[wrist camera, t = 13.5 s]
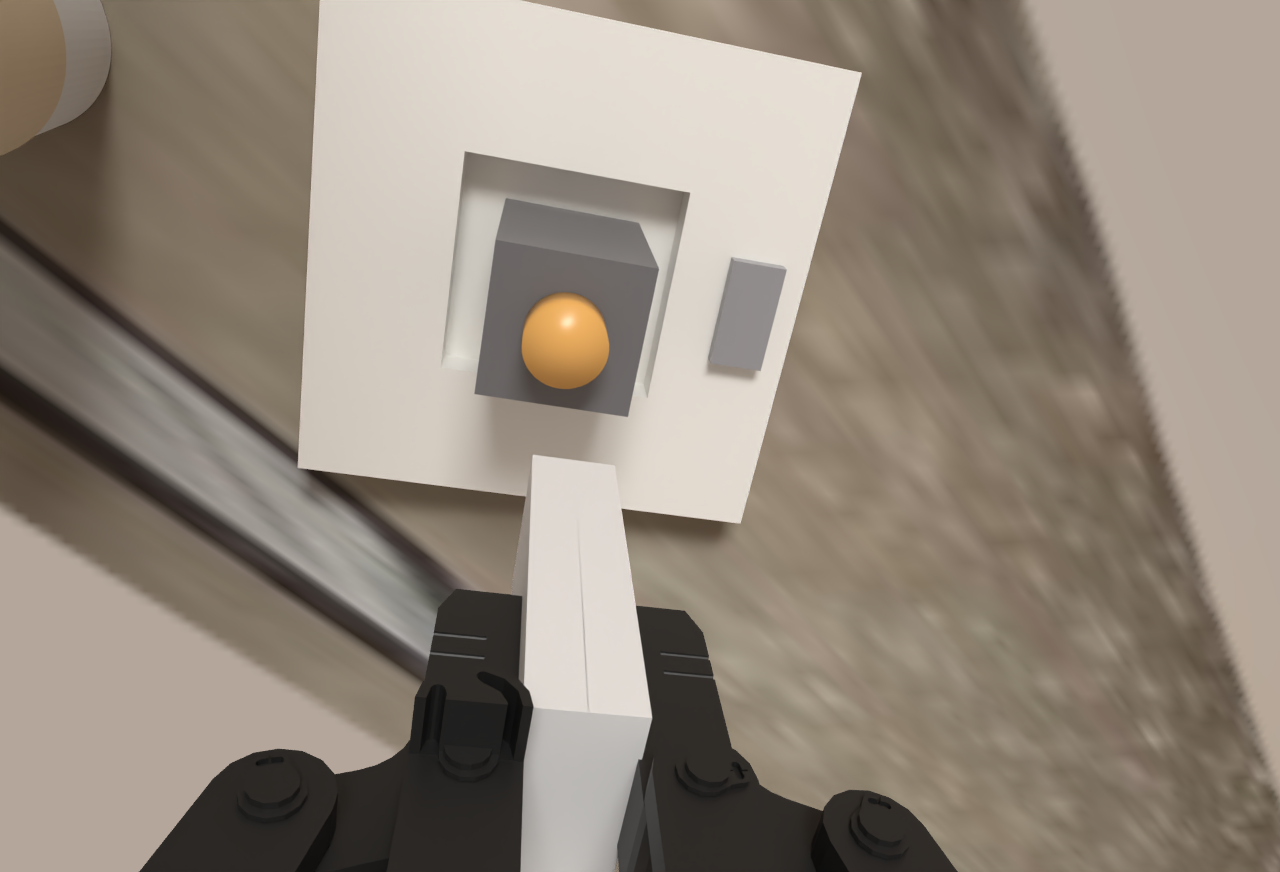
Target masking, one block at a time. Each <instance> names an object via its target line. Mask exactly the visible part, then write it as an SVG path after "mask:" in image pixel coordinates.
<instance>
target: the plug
mask: <svg viewBox="0 0 1280 872" xmlns="http://www.w3.org/2000/svg"><path fill="white" fill-rule="evenodd" d="M658 272H659V267H658V265H657V263H656V261H655V258H654V256H653V254H652V251H651V249H650V247H649V245H648V242H647V240H646V238H645V236H644V233H643V231H642V229H641V226H640V224H639V223H637V222H632V221H627V220H621V219H616V218H610V217H605V216H600V215H594V214H589V213H583V212H578V211H573V210H567V209H562V208H557V207H551V206H546V205H540V204H535V203H530V202H524V201H519V200H513V199H508V198H506V199H505V203H504V207H503V211H502V215H501V219H500V223H499V227H498V232H497V236H496V240H495V247H494V254H493V261H492V269H491V276H490V283H489V291H488V298H487V305H486V312H485V320H484V327H483V334H482V342H481V349H480V356H479V363H478V371H477V378H476V385H475V393H474V394H477V395H484V396H491V397H497V398H504V399H511V400H517V401H524V402H531V403H537V404H544V405H551V406H557V407H564V408H571V409H577V410H584V411H591V412H597V413H604V414H611V415H617V416H624V417H628V414H629V409H630V404H631V400H632V395H633V390H634V386H635V381H636V376H637V371H638V367H639V362H640V357H641V352H642V348H643V343H644V338H645V333H646V329H647V324H648V319H649V315H650V310H651V305H652V300H653V296H654V291H655V286H656V281H657V277H658Z"/></svg>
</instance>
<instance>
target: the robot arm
mask: <svg viewBox="0 0 1280 872" xmlns="http://www.w3.org/2000/svg"><path fill="white" fill-rule="evenodd" d="M708 657H709V655H708V651H707V647H706V643H705V639H704V635H703V632H702V631H701V630H700V629H699V627H698V626H697V625H696V624H695V623H694V621H693V620H692V619H691V618H690V616H689V615H688V614H687V613H686V612H685V611H681V610H671V609H662V608H652V607H643V606H636V604H635V598H634V591H633V584H632V577H631V571H630V564H629V557H628V550H627V543H626V537H625V530H624V523H623V516H622V510H621V503H620V496H619V489H618V482H617V476H616V469H615V465H608V464H600V463H593V462H585V461H577V460H570V459H562V458H554V457H547V456H539V455H532V461H531V468H530V474H529V480H528V487H527V493H526V499H525V506H524V512H523V518H522V525H521V531H520V537H519V544H518V550H517V556H516V563H515V569H514V575H513V581H512V595H508V594H499V593H489V592H480V591H471V590H461V589H456V590H455V591H454V592H453V593H452V594H451V595H450V596H449V597H448V598H447V599H446V600H445V601H444V603H443V604H442V605H441V606H440V607H439V608H438V613H437V618H436V624H435V629H434V635H433V640H432V645H431V651H430V656H429V661H428V667H427V672H426V677H425V681H423V682H422V684H421V686H420V688H419V690H418V692H417V694H416V696H415V703H414V711H413V720H412V729H411V738H410V741H409V742H408V743H407V744H406V746H405V747H404V748H403V749H402V750H401V751H399V752H398V753H397V754H396V755H394V756H393V757H392V758H390V759H388V760H386V761H384V762H382V763H380V764H378V765H375V766H372V767H368V768H365V769H361V770H357V771H352V772H345V773H340V774H334V773H333V772H332V771H331V770H330V769H329V767H328V766H327V765H326V764H325V763H324V762H323V761H322V760H321V759H319V758H316V757H314V756H312V755H310V754H307V753H305V752H303V751H296V750H286V749H274V750H268V751H262V752H256V753H252V754H250V755H248V756H246V757H244V758H242V759H239V760H237V761H235V762H233V763H231V764H229V766H227V767H226V768H225V769H224V770H223V771H221V772H220V773H219V774H218V775H217V776H216V777H215V778H214V779H213V780H212V781H211V782H210V783H209V785H208V786H207V787H206V789H205V790H204V791H203V792H202V794H201V795H200V796H199V797H198V799H197V800H196V801H195V802H194V804H193V805H192V806H191V807H190V809H189V810H188V811H187V812H186V814H185V815H184V816H183V818H182V819H181V820H180V821H179V823H178V824H177V825H176V826H175V828H174V829H173V830H172V831H171V832H170V834H169V835H168V836H167V838H166V839H165V840H164V841H163V843H162V844H161V845H160V847H159V848H158V849H157V850H156V851H155V853H154V854H153V855H152V856H151V858H150V859H149V860H148V862H147V863H146V864H145V865H144V866H143V868H142V869H141V870H140V872H614V870H615V866H616V862H617V858H618V862H619V872H957V870H956V869H955V868H954V866H953V865H952V863H951V862H950V861H949V859H948V858H947V857H946V855H945V854H944V853H943V851H942V850H941V848H940V847H939V846H938V844H937V843H936V842H935V840H934V839H933V837H932V836H931V835H930V833H929V832H928V831H927V829H926V828H925V826H924V825H923V824H922V823H921V822H920V821H919V820H918V819H917V818H916V817H915V816H914V815H913V814H912V813H911V812H910V811H909V810H908V809H906V808H905V807H903V806H902V805H900V804H899V803H897V802H895V801H894V800H892V799H891V798H889V797H886V796H883V795H880V794H877V793H874V792H871V791H863V790H848V791H845V792H842V793H839V794H836V795H834V796H833V797H832V798H831V799H830V801H829V802H828V803H827V804H826V805H825V807H824V810H823V811H821V810H818V809H815V808H812V807H809V806H806V805H803V804H800V803H797V802H794V801H791V800H788V799H786V798H783V797H781V796H779V795H777V794H774V793H772V792H770V791H769V790H767V789H766V788H764V787H762V786H761V785H759V781H758V779H757V777H756V775H755V773H754V771H753V769H752V767H751V765H750V763H749V762H747V761H746V760H745V759H744V758H743V757H742V756H741V755H740V754H739V753H738V752H737V751H736V750H734V749H732V747H731V743H730V739H729V735H728V731H727V727H726V723H725V719H724V715H723V711H722V707H721V703H720V699H719V695H718V691H717V687H716V683H715V680H713V671H712V667H711V663H710V660H708Z"/></svg>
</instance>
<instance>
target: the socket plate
mask: <svg viewBox="0 0 1280 872" xmlns="http://www.w3.org/2000/svg"><path fill="white" fill-rule="evenodd" d="M861 74H862V73H860V72H855V71H850V70H846V69H841V68H836V67H832V66H827V65H822V64H818V63H813V62H808V61H803V60H799V59H794V58H789V57H785V56H780V55H775V54H771V53H766V52H761V51H756V50H752V49H747V48H742V47H738V46H733V45H728V44H723V43H719V42H714V41H709V40H705V39H700V38H695V37H691V36H686V35H681V34H676V33H672V32H667V31H662V30H658V29H653V28H648V27H643V26H639V25H634V24H629V23H625V22H620V21H615V20H611V19H606V18H601V17H596V16H592V15H587V14H582V13H578V12H573V11H568V10H563V9H559V8H554V7H549V6H545V5H540V4H535V3H531V2H526V1H521V0H320V8H319V29H318V50H317V72H316V93H315V114H314V135H313V156H312V177H311V199H310V220H309V241H308V262H307V283H306V304H305V326H304V347H303V368H302V389H301V410H300V431H299V452H298V468H303V469H311V470H319V471H327V472H335V473H343V474H351V475H359V476H367V477H375V478H383V479H391V480H399V481H407V482H414V483H422V484H430V485H438V486H446V487H454V488H462V489H470V490H478V491H486V492H494V493H502V494H510V495H518V496H526V493H527V487H528V480H529V474H530V468H531V461H532V455H539V456H547V457H554V458H562V459H570V460H577V461H585V462H593V463H600V464H608V465H615V469H616V476H617V482H618V489H619V496H620V503H621V509H629V510H637V511H645V512H653V513H661V514H668V515H676V516H684V517H692V518H700V519H708V520H716V521H724V522H732V523H741V519H742V516H743V512H744V508H745V504H746V501H747V497H748V493H749V490H750V486H751V482H752V478H753V475H754V471H755V467H756V464H757V460H758V456H759V452H760V449H761V445H762V441H763V438H764V434H765V430H766V426H767V423H768V419H769V415H770V412H771V408H772V404H773V400H774V397H775V393H776V389H777V386H778V382H779V378H780V374H781V371H782V367H783V363H784V360H785V356H786V352H787V348H788V345H789V341H790V337H791V334H792V330H793V326H794V322H795V319H796V315H797V311H798V308H799V304H800V300H801V296H802V293H803V289H804V285H805V282H806V278H807V274H808V270H809V267H810V263H811V259H812V256H813V252H814V248H815V244H816V241H817V237H818V233H819V230H820V226H821V222H822V218H823V215H824V211H825V207H826V204H827V200H828V196H829V193H830V189H831V185H832V181H833V178H834V174H835V170H836V167H837V163H838V159H839V155H840V152H841V148H842V144H843V141H844V137H845V133H846V129H847V126H848V122H849V118H850V115H851V111H852V107H853V103H854V100H855V96H856V92H857V89H858V85H859V81H860V77H861ZM506 198H508V199H513V200H519V201H524V202H530V203H535V204H540V205H546V206H551V207H557V208H562V209H567V210H573V211H578V212H583V213H589V214H594V215H600V216H605V217H610V218H616V219H621V220H627V221H632V222H637V223H639V224H640V226H641V229H642V231H643V233H644V236H645V238H646V240H647V242H648V245H649V247H650V249H651V251H652V254H653V256H654V258H655V261H656V263H657V265H658V267H659V272H658V277H657V281H656V286H655V291H654V296H653V300H652V305H651V310H650V315H649V319H648V324H647V329H646V333H645V338H644V343H643V348H642V352H641V357H640V362H639V367H638V371H637V376H636V381H635V386H634V390H633V395H632V400H631V404H630V409H629V414H628V417H624V416H617V415H611V414H604V413H597V412H591V411H584V410H577V409H571V408H564V407H557V406H551V405H544V404H537V403H531V402H524V401H517V400H511V399H504V398H497V397H491V396H484V395H477V394H474V393H475V385H476V378H477V371H478V363H479V356H480V349H481V342H482V334H483V327H484V320H485V312H486V305H487V298H488V291H489V283H490V276H491V269H492V261H493V254H494V247H495V240H496V236H497V232H498V227H499V223H500V219H501V215H502V211H503V207H504V203H505V199H506Z"/></svg>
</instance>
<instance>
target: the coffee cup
mask: <svg viewBox="0 0 1280 872" xmlns="http://www.w3.org/2000/svg"><path fill="white" fill-rule="evenodd" d="M110 62H111V37H110V31H109V26H108V21H107V18H106V15H105V12H104V9H103V6H102V4H101V1H100V0H0V156H1V155H4V154H6V153H8V152H10V151H12V150H15V149H17V148H18V147H20V146H22V145H23V144H25V143H26V142H28V141H29V140H30V139H31V138H33V137H34V136H36V135H39V134H41V133H44V132H46V131H49V130H51V129H54V128H56V127H58V126H61V125H63V124H66V123H68V122H70V121H72V120H74V119H75V118H77V117H78V116H80V115H81V114H82V113H84V112H85V111H86V110H87V109H88V108H89V107H90V106H91V105H92V104H93V103H94V101H95V100H96V99H97V97H98V96H99V94H100V92H101V91H102V89H103V87H104V85H105V82H106V79H107V76H108V73H109V68H110Z"/></svg>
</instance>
